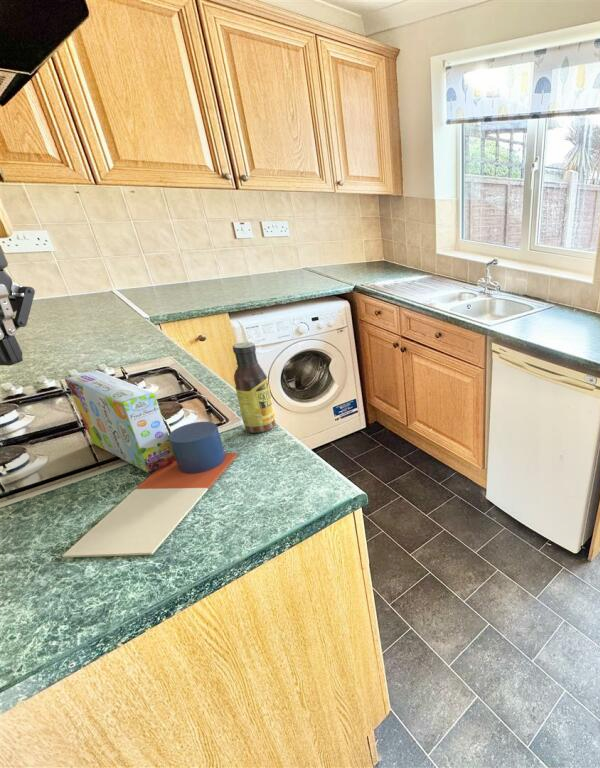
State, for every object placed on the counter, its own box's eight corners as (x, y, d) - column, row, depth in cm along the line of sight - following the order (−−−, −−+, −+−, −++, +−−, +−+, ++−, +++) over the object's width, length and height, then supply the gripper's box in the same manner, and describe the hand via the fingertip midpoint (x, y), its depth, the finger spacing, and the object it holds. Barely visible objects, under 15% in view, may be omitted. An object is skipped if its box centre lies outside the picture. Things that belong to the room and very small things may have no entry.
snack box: (180, 459, 83) (156, 391, 76) (147, 475, 78) (118, 403, 72) (123, 431, 91) (96, 367, 84) (90, 444, 86) (59, 377, 80)
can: (169, 474, 78) (158, 443, 75) (191, 451, 85) (182, 421, 82) (214, 473, 80) (205, 442, 77) (232, 450, 86) (224, 421, 83)
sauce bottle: (271, 434, 93) (253, 350, 85) (240, 435, 92) (219, 350, 84) (280, 419, 99) (264, 340, 91) (252, 420, 98) (233, 340, 90)
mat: (62, 557, 61) (61, 555, 61) (174, 455, 84) (174, 453, 84) (152, 554, 62) (151, 552, 62) (237, 454, 86) (237, 453, 86)
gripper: (-32, 223, 56) (25, 346, 63) (-167, 233, 44) (-78, 383, 51) (32, 226, 56) (80, 347, 64) (-84, 237, 45) (-9, 384, 52)
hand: (9, 363), depth 57 cm, fingers closed
